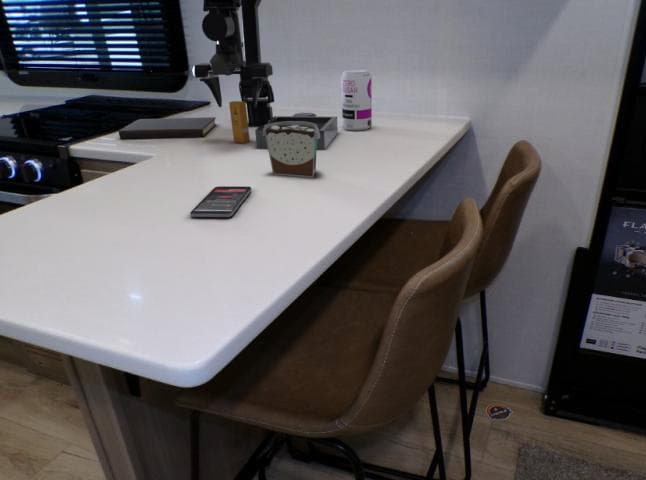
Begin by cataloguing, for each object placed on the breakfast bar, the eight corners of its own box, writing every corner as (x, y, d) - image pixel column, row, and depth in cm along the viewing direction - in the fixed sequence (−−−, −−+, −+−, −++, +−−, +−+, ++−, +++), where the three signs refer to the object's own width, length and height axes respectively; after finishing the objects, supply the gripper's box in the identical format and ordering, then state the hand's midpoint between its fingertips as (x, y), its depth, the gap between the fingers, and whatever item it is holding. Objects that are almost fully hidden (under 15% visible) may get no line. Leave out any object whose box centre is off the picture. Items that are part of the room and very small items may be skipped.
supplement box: (251, 140, 138) (246, 100, 133) (243, 143, 136) (238, 102, 131) (240, 139, 140) (235, 100, 135) (233, 142, 137) (227, 102, 132)
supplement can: (372, 124, 152) (372, 68, 145) (370, 131, 145) (370, 72, 137) (344, 124, 153) (343, 69, 145) (341, 131, 146) (339, 72, 138)
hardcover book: (140, 127, 157) (138, 119, 156) (216, 125, 157) (215, 117, 156) (120, 139, 143) (117, 130, 142) (203, 137, 143) (202, 128, 142)
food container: (330, 170, 113) (328, 122, 108) (320, 178, 108) (317, 128, 103) (279, 166, 117) (275, 119, 112) (266, 173, 112) (261, 125, 107)
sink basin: (257, 148, 131) (254, 129, 129) (276, 132, 146) (274, 116, 144) (324, 149, 128) (324, 130, 126) (337, 133, 143) (337, 116, 141)
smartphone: (252, 186, 101) (230, 214, 88) (252, 190, 102) (231, 218, 89) (215, 186, 102) (188, 213, 89) (216, 189, 102) (189, 217, 89)
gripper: (177, 41, 120) (189, 112, 128) (255, 40, 117) (263, 113, 125) (197, 38, 129) (207, 104, 137) (270, 37, 127) (276, 105, 134)
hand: (237, 107), depth 133 cm, fingers open, 9 cm apart
